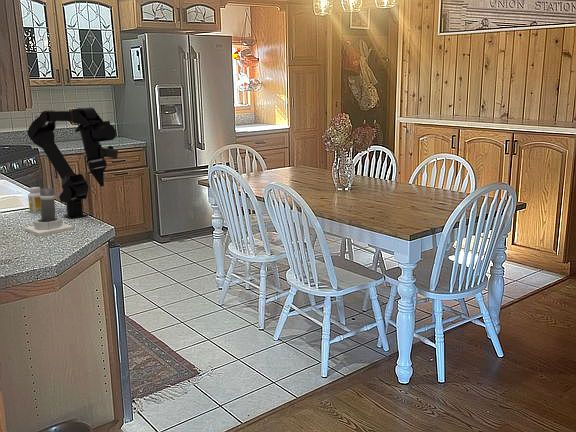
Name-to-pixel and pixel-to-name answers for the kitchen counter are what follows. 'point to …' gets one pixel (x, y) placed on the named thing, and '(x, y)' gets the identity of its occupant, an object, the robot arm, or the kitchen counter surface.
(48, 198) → the dark grey capped cylinder
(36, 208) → the supplement bottle
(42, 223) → the collar mount
